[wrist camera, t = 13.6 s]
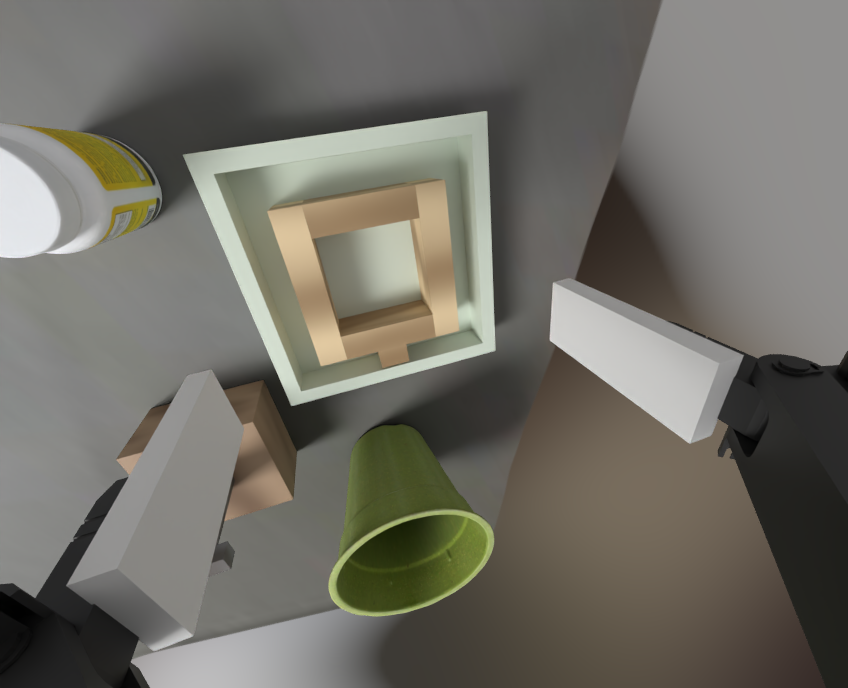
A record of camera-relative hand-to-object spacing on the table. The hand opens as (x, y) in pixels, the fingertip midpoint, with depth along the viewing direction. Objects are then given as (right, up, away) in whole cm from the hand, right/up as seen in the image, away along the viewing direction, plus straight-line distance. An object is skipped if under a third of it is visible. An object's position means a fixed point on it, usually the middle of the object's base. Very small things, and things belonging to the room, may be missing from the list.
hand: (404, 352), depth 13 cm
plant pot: (-3, -10, +20) cm, 23 cm away
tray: (-3, +6, +11) cm, 13 cm away
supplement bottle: (-16, +9, +6) cm, 20 cm away
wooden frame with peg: (-3, +6, +11) cm, 13 cm away
